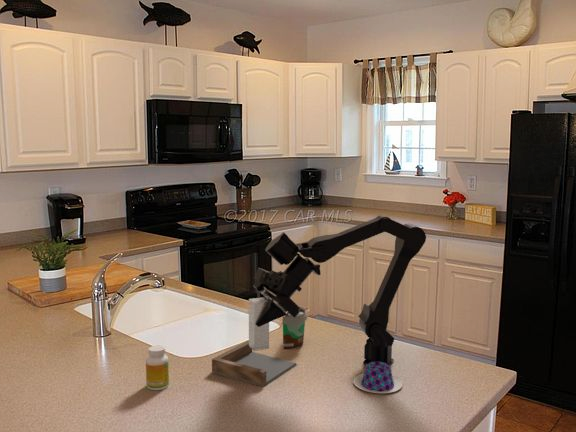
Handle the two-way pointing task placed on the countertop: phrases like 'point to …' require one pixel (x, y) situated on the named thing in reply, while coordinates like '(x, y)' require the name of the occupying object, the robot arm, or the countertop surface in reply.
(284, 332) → the food container
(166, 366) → the supplement bottle
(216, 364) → the corner walls
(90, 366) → the countertop surface
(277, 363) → the corner mat
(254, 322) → the aluminium post
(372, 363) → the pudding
